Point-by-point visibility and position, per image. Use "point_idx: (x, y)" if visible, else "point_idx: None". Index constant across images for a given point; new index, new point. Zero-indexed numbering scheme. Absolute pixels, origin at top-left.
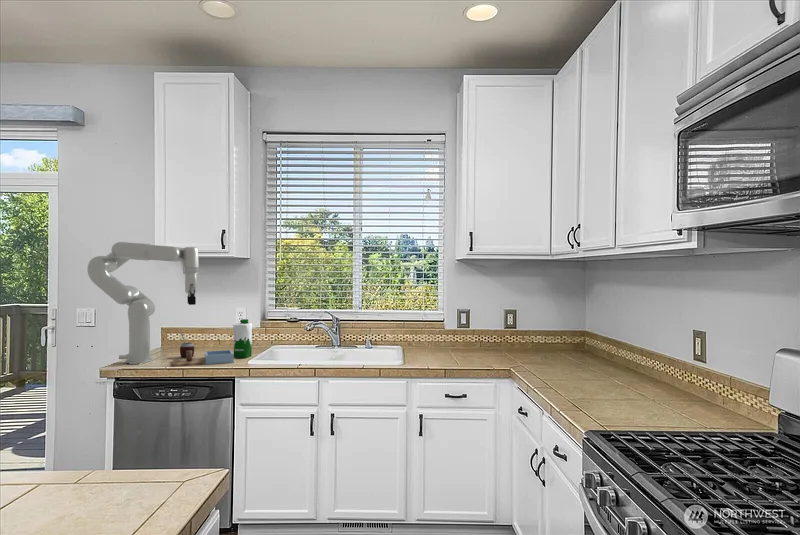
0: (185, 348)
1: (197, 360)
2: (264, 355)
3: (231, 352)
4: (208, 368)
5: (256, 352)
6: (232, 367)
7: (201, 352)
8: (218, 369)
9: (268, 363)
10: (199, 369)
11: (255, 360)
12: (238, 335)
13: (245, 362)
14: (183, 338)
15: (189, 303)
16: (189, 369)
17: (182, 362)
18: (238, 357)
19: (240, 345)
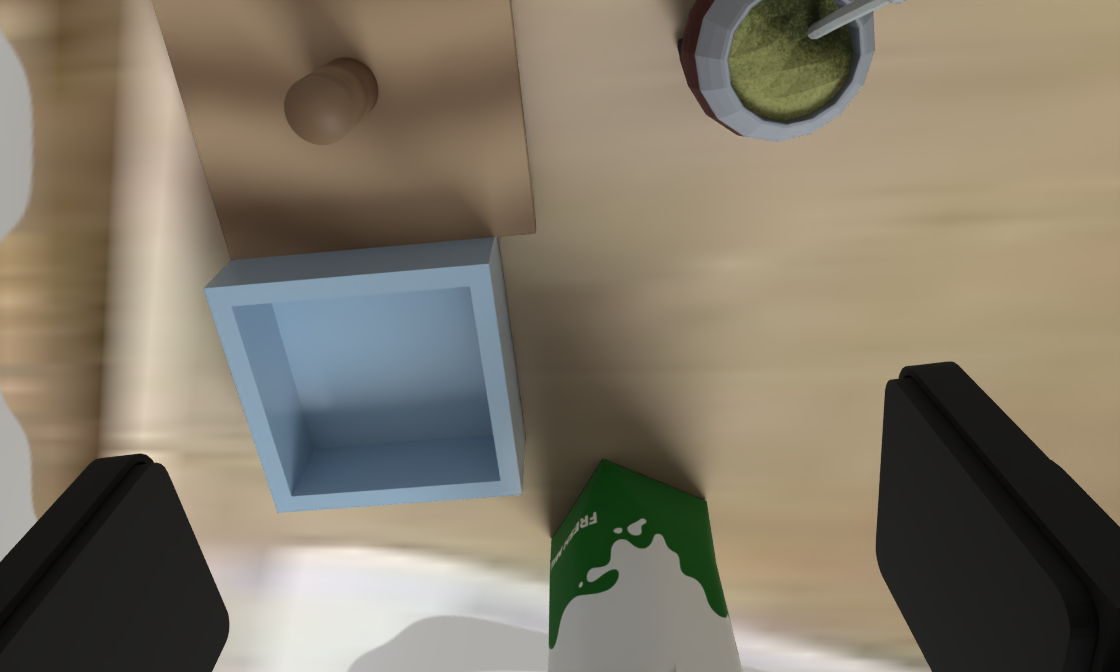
0: (693, 32)
1: (355, 174)
2: None
3: (358, 497)
4: (96, 273)
5: (826, 612)
6: (133, 447)
7: (1111, 168)
8: (45, 351)
9: (278, 655)
10: (47, 199)
11: (428, 592)
12: (564, 659)
13: (351, 532)
14: (861, 4)
15: (81, 498)
16: (48, 107)
17: (250, 21)
18: (581, 495)
19: (553, 589)
